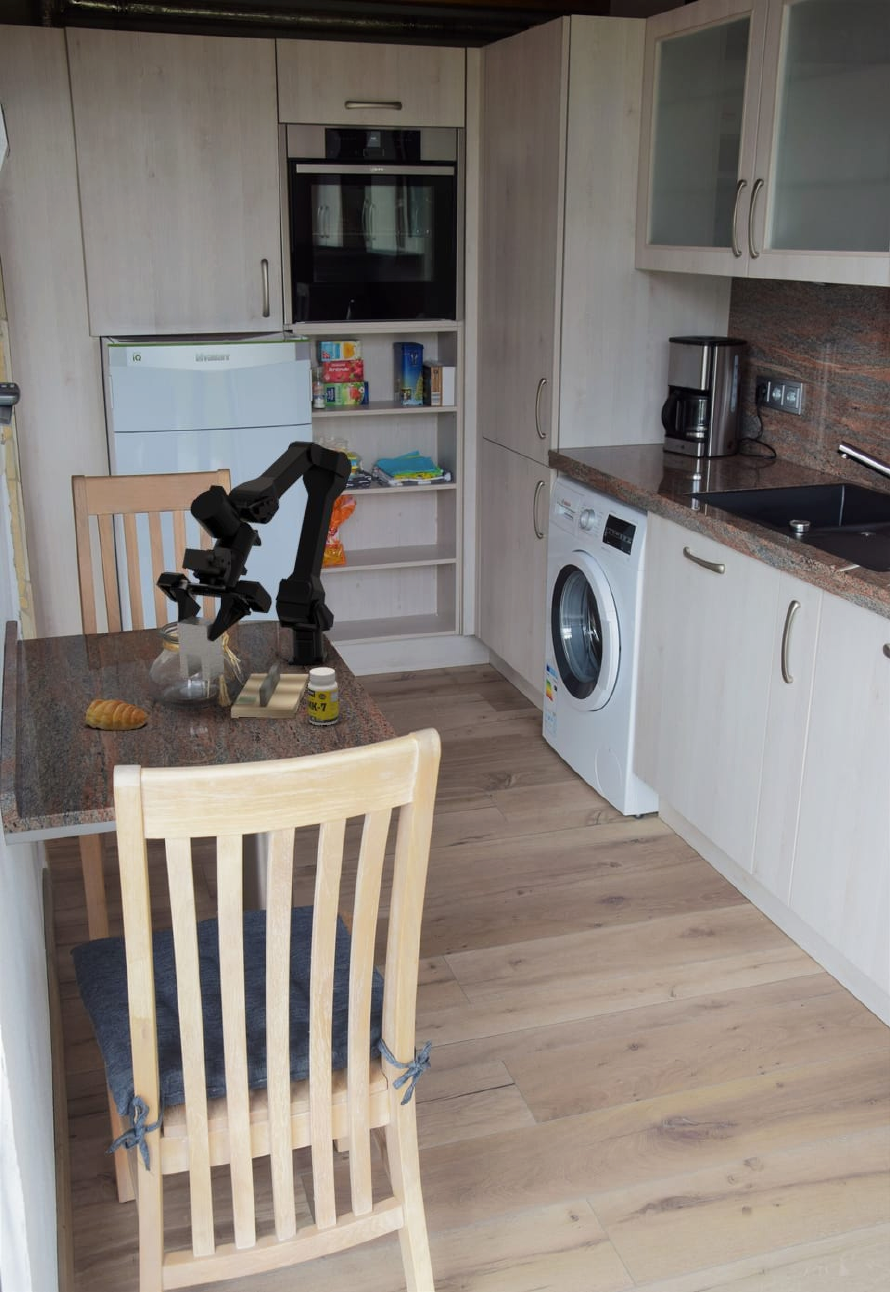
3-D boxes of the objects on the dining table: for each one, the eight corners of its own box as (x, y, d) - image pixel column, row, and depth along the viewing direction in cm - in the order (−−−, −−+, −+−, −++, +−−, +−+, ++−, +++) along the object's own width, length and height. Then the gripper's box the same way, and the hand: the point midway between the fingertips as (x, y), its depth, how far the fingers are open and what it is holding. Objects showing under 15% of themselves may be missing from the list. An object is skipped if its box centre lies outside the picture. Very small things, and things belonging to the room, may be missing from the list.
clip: (195, 669, 193) (191, 616, 190) (224, 673, 191) (220, 619, 188) (181, 676, 189) (176, 622, 186) (210, 681, 187) (206, 626, 184)
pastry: (156, 720, 190) (154, 697, 189) (135, 735, 184) (133, 712, 183) (103, 715, 192) (101, 693, 191) (81, 730, 186) (79, 707, 185)
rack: (252, 681, 208) (250, 657, 206) (309, 682, 207) (308, 657, 206) (231, 717, 190) (229, 691, 189) (293, 718, 190) (292, 691, 189)
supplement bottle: (302, 723, 188) (300, 673, 186) (319, 714, 192) (317, 664, 190) (328, 728, 186) (326, 677, 183) (344, 718, 190) (343, 669, 187)
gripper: (158, 522, 190) (120, 606, 184) (258, 531, 183) (222, 619, 176) (190, 559, 199) (155, 640, 193) (287, 569, 192) (254, 654, 186)
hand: (195, 638), depth 187 cm, fingers closed on clip, 5 cm apart
